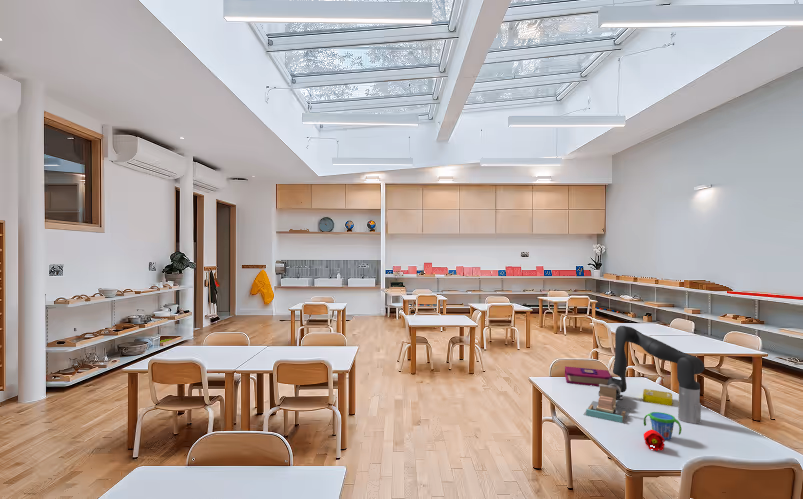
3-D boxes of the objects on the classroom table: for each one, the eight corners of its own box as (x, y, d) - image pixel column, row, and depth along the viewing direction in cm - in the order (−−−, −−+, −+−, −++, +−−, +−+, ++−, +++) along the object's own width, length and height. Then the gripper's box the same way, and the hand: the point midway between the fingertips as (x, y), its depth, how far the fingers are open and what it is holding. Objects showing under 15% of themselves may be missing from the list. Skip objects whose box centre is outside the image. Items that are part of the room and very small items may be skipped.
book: (564, 375, 318) (564, 364, 318) (607, 379, 310) (607, 368, 310) (566, 383, 297) (566, 372, 297) (612, 388, 289) (612, 376, 289)
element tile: (672, 407, 256) (672, 398, 256) (642, 402, 264) (642, 394, 264) (671, 400, 269) (672, 392, 269) (643, 395, 277) (643, 387, 277)
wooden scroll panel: (598, 409, 246) (599, 383, 246) (616, 413, 241) (617, 386, 241) (594, 415, 237) (595, 388, 237) (613, 419, 232) (614, 391, 232)
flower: (664, 434, 202) (668, 440, 194) (656, 448, 203) (660, 455, 195) (647, 424, 204) (650, 430, 197) (638, 438, 205) (641, 445, 198)
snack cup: (639, 434, 214) (640, 413, 214) (649, 429, 221) (649, 408, 221) (675, 445, 202) (676, 423, 202) (684, 440, 209) (684, 418, 209)
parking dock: (592, 401, 260) (593, 395, 260) (631, 409, 249) (631, 402, 249) (583, 415, 237) (583, 409, 237) (624, 424, 226) (625, 417, 226)
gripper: (600, 383, 261) (595, 390, 247) (625, 387, 254) (621, 394, 240) (600, 395, 261) (594, 403, 247) (625, 400, 254) (621, 408, 240)
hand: (608, 399), depth 243 cm, fingers closed
